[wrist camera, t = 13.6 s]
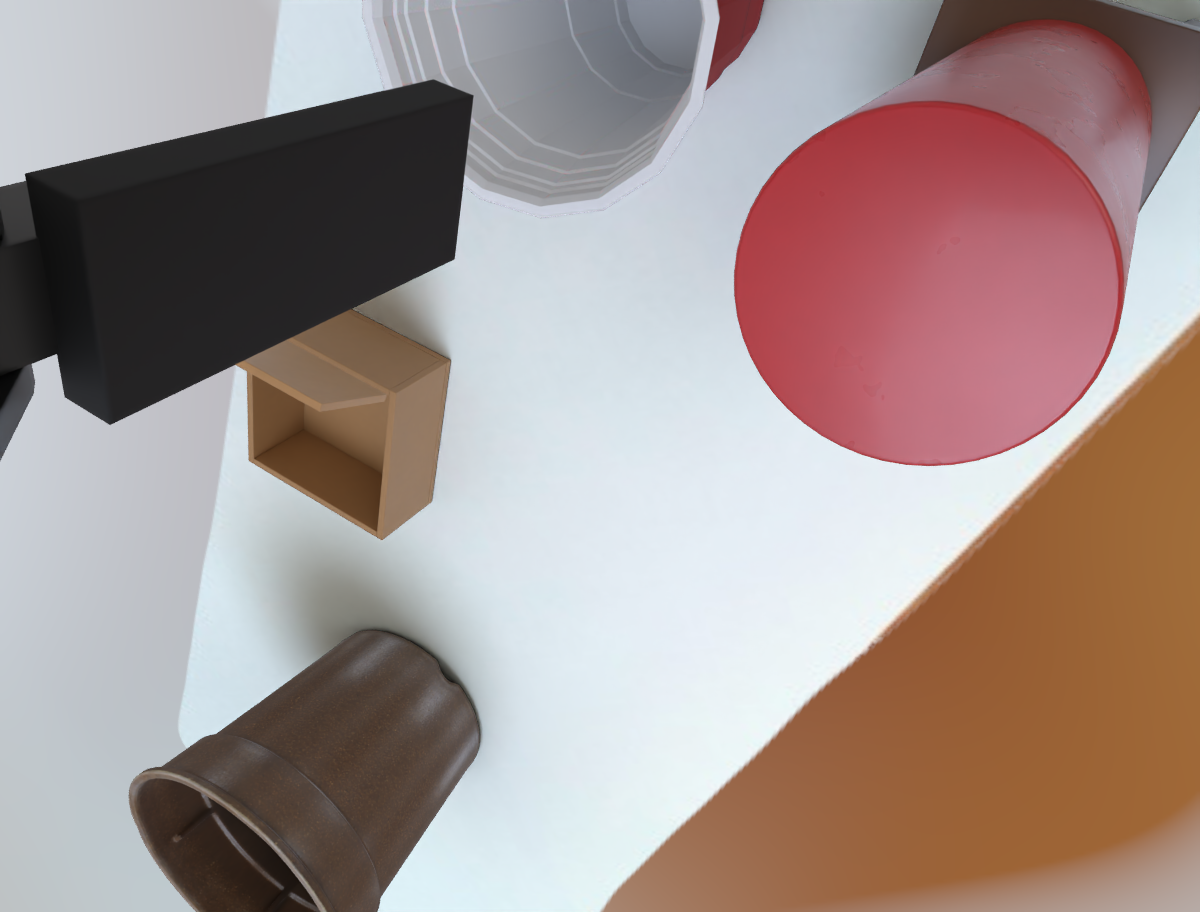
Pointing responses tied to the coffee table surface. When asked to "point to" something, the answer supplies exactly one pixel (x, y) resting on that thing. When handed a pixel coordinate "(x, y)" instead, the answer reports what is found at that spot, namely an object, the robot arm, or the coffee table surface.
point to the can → (953, 249)
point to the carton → (357, 426)
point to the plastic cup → (564, 86)
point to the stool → (1155, 43)
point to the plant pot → (312, 785)
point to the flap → (310, 378)
